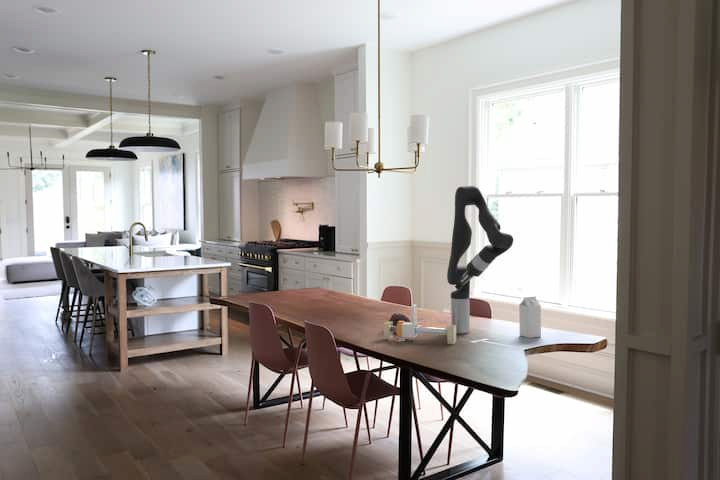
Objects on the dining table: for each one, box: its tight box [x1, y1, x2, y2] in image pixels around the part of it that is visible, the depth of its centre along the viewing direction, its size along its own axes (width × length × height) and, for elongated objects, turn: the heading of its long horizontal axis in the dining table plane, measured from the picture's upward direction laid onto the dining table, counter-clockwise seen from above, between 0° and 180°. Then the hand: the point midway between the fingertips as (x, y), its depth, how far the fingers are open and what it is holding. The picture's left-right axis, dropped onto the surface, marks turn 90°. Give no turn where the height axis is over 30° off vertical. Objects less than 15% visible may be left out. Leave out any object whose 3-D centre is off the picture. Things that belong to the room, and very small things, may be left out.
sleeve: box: [402, 303, 419, 339], centre depth 274 cm, size 6×6×15 cm
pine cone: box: [388, 313, 411, 326], centre depth 294 cm, size 18×10×10 cm
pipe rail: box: [383, 320, 457, 345], centre depth 272 cm, size 34×9×8 cm, turn 68°
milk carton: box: [518, 296, 542, 339], centre depth 277 cm, size 7×7×19 cm
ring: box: [395, 321, 405, 338], centre depth 276 cm, size 2×8×8 cm, turn 159°
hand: (456, 287), depth 272 cm, fingers closed
